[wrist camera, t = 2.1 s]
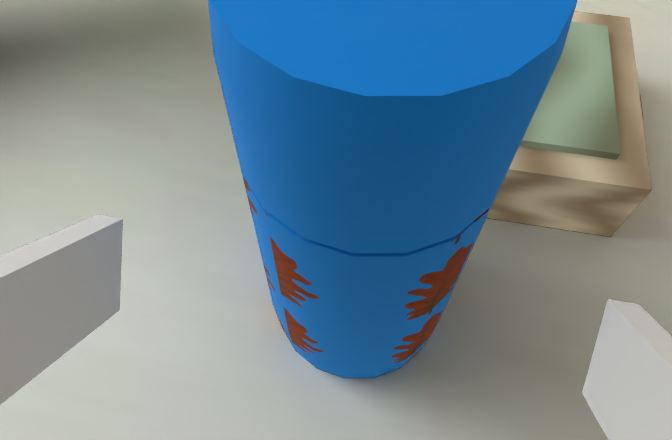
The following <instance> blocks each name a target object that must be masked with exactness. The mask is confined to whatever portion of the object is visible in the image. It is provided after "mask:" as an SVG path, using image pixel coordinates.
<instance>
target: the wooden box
mask: <svg viewBox="0 0 672 440" xmlns="http://www.w3.org/2000/svg"><path fill="white" fill-rule="evenodd" d="M651 190H652V188H651V180H650V172H649V165H648V157H647V149H646V141H645V134H644V126H643V113H642V105H641V97H640V94H639V87H638V79H637V71H636V64H635V56H634V48H633V40H632V33H631V25H630V18H627V17H619V16H611V15H602V14H594V13H586V12H578V11H574V14H573V17H572V21H571V24H570V28H569V31H568V35H567V38H566V42H565V45H564V49H563V52H562V55H561V57H560V59H559V61H558V63H557V65H556V68H555V70H554V72H553V74H552V76H551V79H550V81H549V83H548V85H547V87H546V89H545V92H544V94H543V96H542V98H541V100H540V102H539V105H538V107H537V109H536V111H535V113H534V115H533V118H532V120H531V122H530V124H529V126H528V128H527V131H526V133H525V135H524V137H523V139H522V141H521V144H520V146H519V148H518V150H517V152H516V154H515V157H514V159H513V161H512V163H511V165H510V167H509V170H508V172H507V174H506V176H505V178H504V180H503V183H502V185H501V187H500V189H499V191H498V193H497V196H496V198H495V200H494V202H493V204H492V206H491V209H490V211H489V213H488V215H487V217H486V218H491V219H498V220H504V221H511V222H517V223H524V224H530V225H537V226H543V227H550V228H556V229H563V230H569V231H576V232H582V233H589V234H595V235H602V236H608V237H611V236H612V235H613V233H614V232H615V231H616V230H617V229H618V228H619V227H620V225H621V224H622V223H623V222H624V221H625V220H626V219H627V218H628V216H629V215H630V214H631V213H632V212H633V211H634V210H635V208H636V207H637V206H638V205H639V204H640V203H641V202H642V201H643V199H644V198H645V197H646V196H647V195H648V194H649V193H650V191H651Z"/></svg>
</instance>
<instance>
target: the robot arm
mask: <svg viewBox="0 0 672 440" xmlns="http://www.w3.org/2000/svg"><path fill="white" fill-rule="evenodd" d="M122 229H123V219H121V218H115V217H109V216H103V215H94V216H92V217H90V218H87V219H85V220H83V221H80V222H78V223H76V224H73V225H71V226H69V227H66V228H64V229H62V230H59V231H57V232H55V233H52V234H50V235H48V236H45V237H43V238H41V239H38V240H36V241H34V242H31V243H29V244H27V245H24V246H22V247H20V248H17V249H15V250H13V251H10V252H8V253H6V254H3V255H1V256H0V405H1V404H2V403H3V402H4V401H6V400H7V399H8V398H9V397H11V396H12V395H13V394H14V393H16V392H17V391H18V390H19V389H21V388H22V387H23V386H24V385H26V384H27V383H28V382H29V381H31V380H32V379H33V378H35V377H36V376H37V375H38V374H40V373H41V372H42V371H43V370H45V369H46V368H47V367H48V366H50V365H51V364H52V363H53V362H55V361H56V360H57V359H58V358H60V357H61V356H62V355H63V354H65V353H66V352H67V351H69V350H70V349H71V348H72V347H74V346H75V345H76V344H77V343H79V342H80V341H81V340H82V339H84V338H85V337H86V336H87V335H89V334H90V333H91V332H92V331H94V330H95V329H96V328H97V327H99V326H100V325H101V324H103V323H104V322H105V321H106V320H108V319H109V318H110V317H111V316H113V315H114V314H115V313H116V312H118V311H119V309H120V282H121V256H122ZM582 394H583V396H584V398H585V399H586V401H587V403H588V405H589V407H590V408H591V410H592V412H593V414H594V416H595V417H596V419H597V421H598V423H599V424H600V426H601V428H602V430H603V432H604V433H605V435H606V437H607V439H608V440H672V336H671V335H670V334H669V333H668V332H667V331H666V330H665V329H664V328H663V327H662V326H661V325H660V324H659V323H658V322H657V321H656V320H655V319H654V318H653V317H652V316H651V315H649V314H648V313H647V312H646V311H645V310H644V309H643V308H642V307H641V306H640V305H639V304H636V303H630V302H624V301H618V300H612V299H608V300H607V304H606V307H605V311H604V315H603V318H602V322H601V325H600V329H599V333H598V336H597V340H596V344H595V347H594V351H593V355H592V358H591V362H590V366H589V369H588V373H587V377H586V380H585V384H584V388H583V391H582Z"/></svg>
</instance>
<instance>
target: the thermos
mask: <svg viewBox="0 0 672 440" xmlns="http://www.w3.org/2000/svg"><path fill="white" fill-rule="evenodd" d="M208 2H209V14H210V23H211V32H212V41H213V51H214V57H215V61H216V65H217V69H218V74H219V78H220V82H221V86H222V91H223V95H224V99H225V103H226V107H227V112H228V116H229V120H230V124H231V129H232V133H233V137H234V141H235V145H236V150H237V154H238V158H239V162H240V167H241V171H242V174H243V179H244V183H245V188H246V192H247V196H248V200H249V205H250V209H251V213H252V217H253V221H254V226H255V230H256V234H257V238H258V243H259V247H260V251H261V255H262V259H263V264H264V268H265V272H266V276H267V281H268V285H269V289H270V293H271V297H272V302H273V306H274V308H275V311H276V313H277V316H278V318H279V321H280V323H281V326H282V328H283V330H284V331H285V333H286V335H287V337H288V338H289V340H290V342H291V344H292V346H293V347H294V349H295V351H297V352H298V353H299V354H300V355H301V356H303V357H304V358H305V359H306V360H307V361H309V362H310V363H311V364H312V365H314V366H315V367H316V368H317V369H320V370H323V371H326V372H329V373H331V374H334V375H337V376H340V377H343V378H375V377H377V376H380V375H383V374H385V373H388V372H390V371H393V370H396V369H398V368H401V367H402V366H403V365H404V364H405V363H406V362H407V361H409V360H410V359H411V358H412V357H413V356H414V355H415V354H416V353H417V352H419V351H420V350H421V349H422V347H423V346H424V344H425V343H426V341H427V340H428V338H429V337H430V335H431V333H432V332H433V330H434V328H435V326H436V324H437V322H438V320H439V318H440V316H441V314H442V312H443V310H444V308H445V306H446V304H447V302H448V300H449V298H450V295H451V293H452V291H453V289H454V287H455V285H456V282H457V280H458V278H459V276H460V274H461V272H462V269H463V267H464V265H465V263H466V261H467V259H468V256H469V254H470V252H471V250H472V248H473V246H474V243H475V241H476V239H477V237H478V235H479V233H480V230H481V228H482V226H483V224H484V222H485V219H486V217H487V215H488V213H489V211H490V209H491V206H492V204H493V202H494V200H495V198H496V196H497V193H498V191H499V189H500V187H501V185H502V183H503V180H504V178H505V176H506V174H507V172H508V170H509V167H510V165H511V163H512V161H513V159H514V157H515V154H516V152H517V150H518V148H519V146H520V144H521V141H522V139H523V137H524V135H525V133H526V131H527V128H528V126H529V124H530V122H531V120H532V118H533V115H534V113H535V111H536V109H537V107H538V105H539V102H540V100H541V98H542V96H543V94H544V92H545V89H546V87H547V85H548V83H549V81H550V79H551V76H552V74H553V72H554V70H555V68H556V65H557V63H558V61H559V59H560V57H561V55H562V52H563V49H564V45H565V42H566V38H567V35H568V31H569V28H570V24H571V21H572V17H573V14H574V10H575V7H576V3H577V0H208Z"/></svg>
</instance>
